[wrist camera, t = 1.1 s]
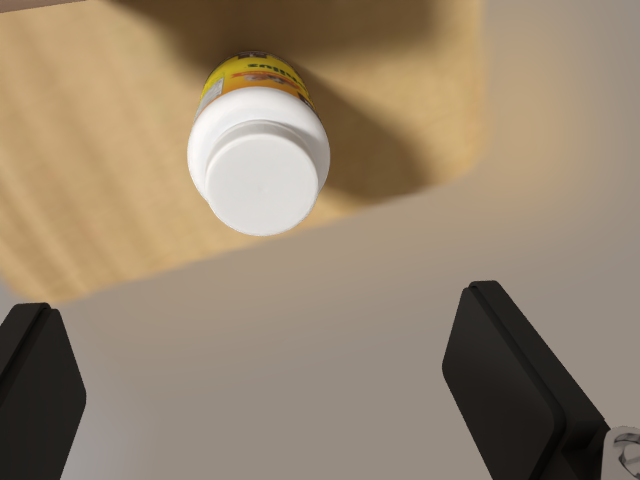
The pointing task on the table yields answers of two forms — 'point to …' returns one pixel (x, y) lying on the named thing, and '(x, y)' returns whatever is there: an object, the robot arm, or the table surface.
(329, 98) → the table surface
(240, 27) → the table surface
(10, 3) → the footstool
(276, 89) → the supplement bottle
